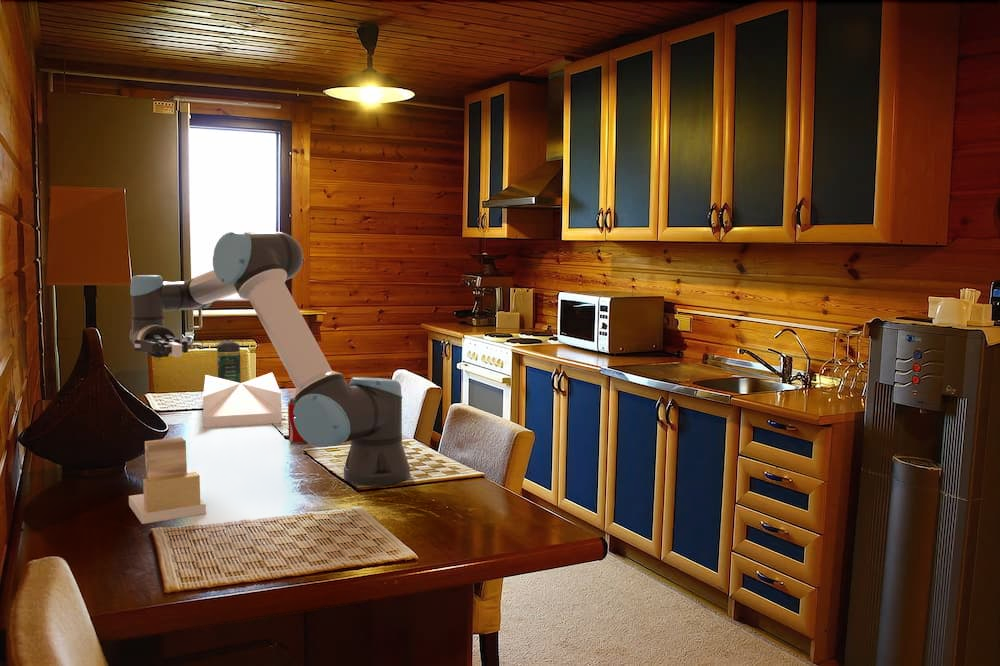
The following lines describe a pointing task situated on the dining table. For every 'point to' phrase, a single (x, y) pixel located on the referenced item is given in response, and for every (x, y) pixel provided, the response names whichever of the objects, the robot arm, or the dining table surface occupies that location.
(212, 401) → the building model
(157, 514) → the base
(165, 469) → the wooden tall block
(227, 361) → the coffee jar
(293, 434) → the beverage can
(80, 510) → the dining table surface
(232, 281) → the robot arm
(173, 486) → the contact block
